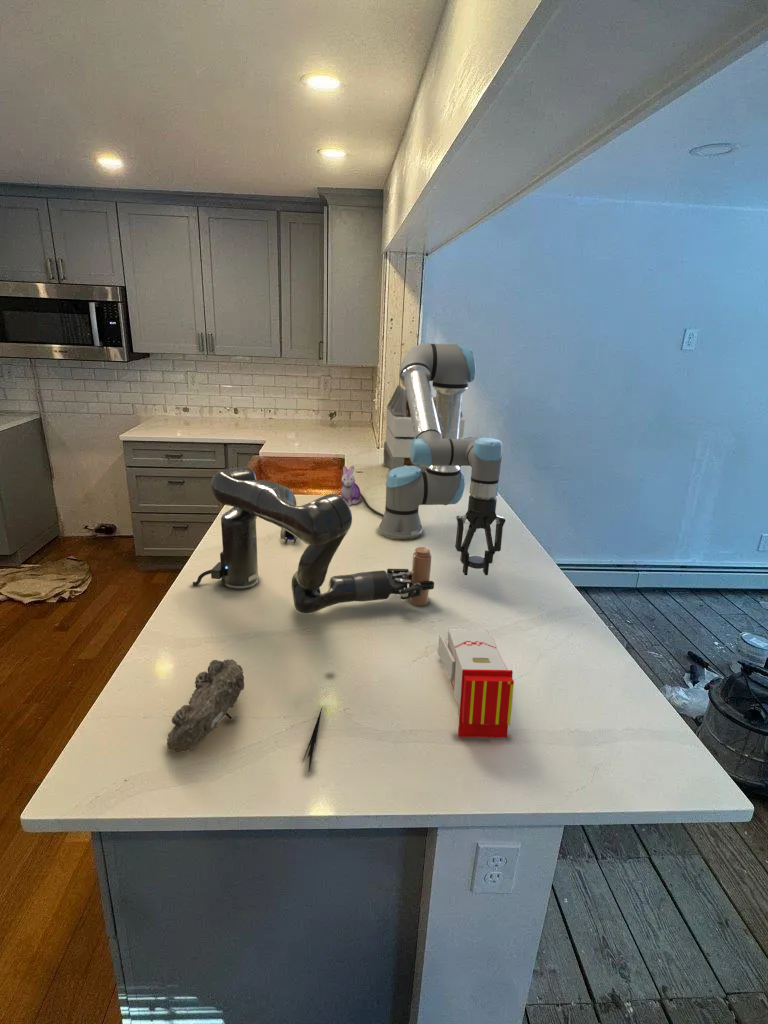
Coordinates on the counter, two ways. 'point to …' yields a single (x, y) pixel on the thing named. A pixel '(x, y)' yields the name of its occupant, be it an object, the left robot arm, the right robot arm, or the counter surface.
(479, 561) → the lid
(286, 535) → the figurine character
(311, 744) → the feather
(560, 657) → the counter surface
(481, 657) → the toy
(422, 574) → the jar
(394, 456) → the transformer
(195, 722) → the fossil
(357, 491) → the figurine
